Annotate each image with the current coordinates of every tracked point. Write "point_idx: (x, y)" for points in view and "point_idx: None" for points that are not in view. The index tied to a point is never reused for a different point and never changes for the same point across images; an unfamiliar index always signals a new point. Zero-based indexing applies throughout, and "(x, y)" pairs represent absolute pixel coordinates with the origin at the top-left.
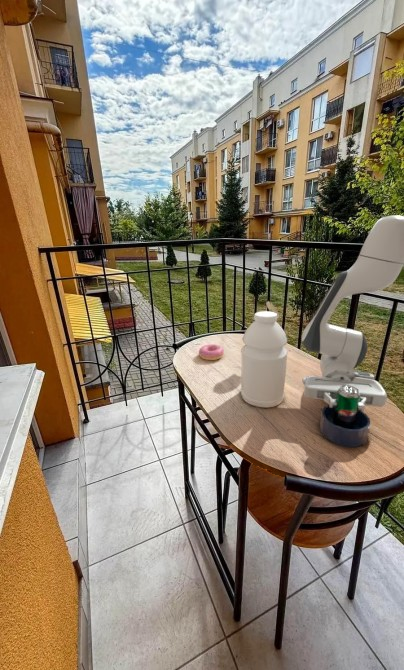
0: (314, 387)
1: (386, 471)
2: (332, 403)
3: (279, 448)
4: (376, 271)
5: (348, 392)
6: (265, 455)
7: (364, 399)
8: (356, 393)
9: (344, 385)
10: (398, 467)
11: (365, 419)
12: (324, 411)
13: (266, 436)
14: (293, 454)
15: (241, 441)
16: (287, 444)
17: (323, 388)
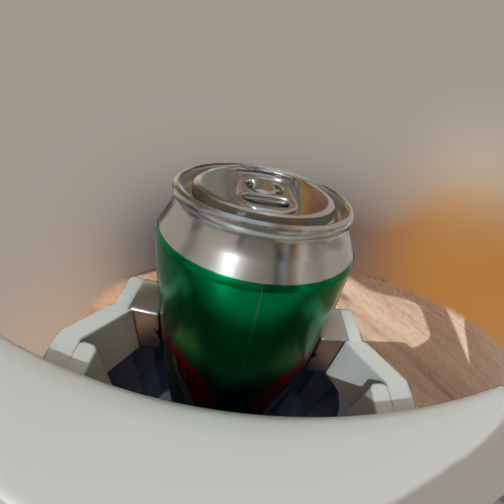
0: (488, 399)
1: (154, 277)
2: (338, 309)
3: (399, 321)
4: None
5: (280, 172)
6: (410, 302)
7: (79, 329)
8: (220, 163)
9: (310, 226)
10: (117, 284)
11: (113, 373)
12: (334, 413)
13: (436, 348)
14: (367, 310)
15: (458, 324)
16: (389, 335)
17: (444, 411)
